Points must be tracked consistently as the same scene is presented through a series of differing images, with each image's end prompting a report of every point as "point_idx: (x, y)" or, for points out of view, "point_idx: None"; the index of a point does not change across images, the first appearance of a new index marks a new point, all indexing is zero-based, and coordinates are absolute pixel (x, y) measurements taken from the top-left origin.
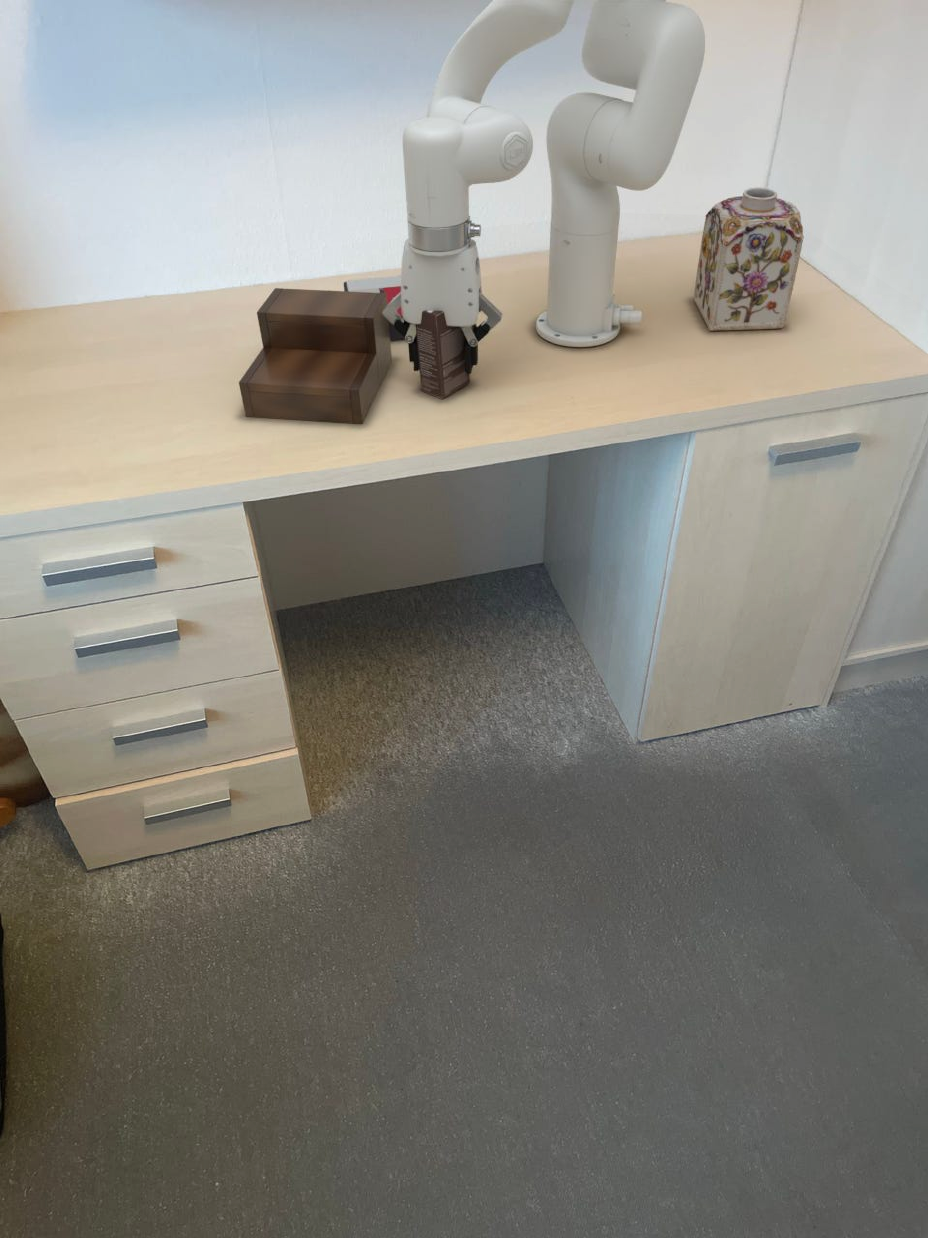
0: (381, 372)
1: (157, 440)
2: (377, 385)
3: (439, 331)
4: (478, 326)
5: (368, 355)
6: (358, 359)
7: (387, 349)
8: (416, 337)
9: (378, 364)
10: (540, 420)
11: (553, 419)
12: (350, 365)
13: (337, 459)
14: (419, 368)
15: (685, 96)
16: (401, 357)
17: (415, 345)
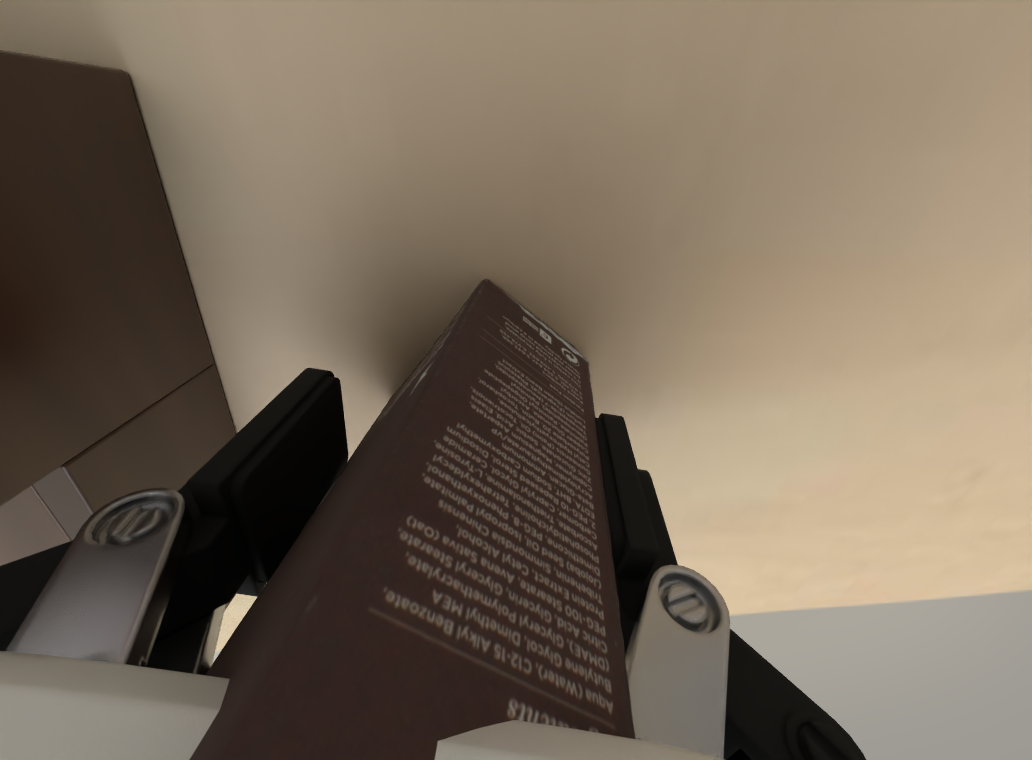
0: (168, 336)
1: None
2: (207, 401)
3: None
4: (729, 731)
5: (38, 483)
6: (20, 508)
7: (49, 177)
8: (227, 600)
9: (127, 405)
10: (783, 568)
11: (826, 568)
12: (30, 550)
13: None
14: (345, 455)
15: None
16: (165, 19)
17: (260, 587)
